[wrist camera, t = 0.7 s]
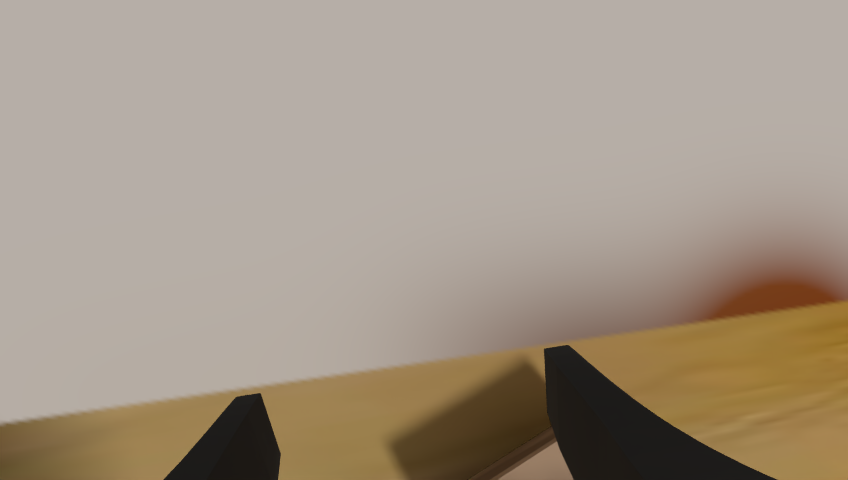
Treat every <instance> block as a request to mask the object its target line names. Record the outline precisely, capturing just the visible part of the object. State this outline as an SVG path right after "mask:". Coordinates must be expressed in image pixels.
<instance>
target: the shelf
mask: <svg viewBox="0 0 848 480" xmlns="http://www.w3.org/2000/svg"><path fill="white" fill-rule="evenodd" d="M468 480H573V477H572V475H571V473H570V471H569V469H568V467H567V464H566V462H565V460H564V458H563V456H562V453H561V451H560V449H559V446H558V443H557V440H556V437H555V434H554V431H553V428H552V426H551V427H550V428H548V429H546V430H545V431H543V432H542V433H540V434H539V435H537V436H535V437H534V438H532V439H531V440H529V441H528V442H526V443H524V444H523V445H521V446H520V447H518V448H517V449H515V450H513V451H512V452H510V453H509V454H507V455H506V456H504V457H502V458H501V459H499V460H498V461H496V462H495V463H493V464H492V465H490V466H488V467H487V468H485V469H484V470H482V471H481V472H479V473H477V474H476V475H474V476H473V477H471V478H470V479H468Z"/></svg>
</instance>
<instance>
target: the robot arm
mask: <svg viewBox="0 0 848 480" xmlns="http://www.w3.org/2000/svg"><path fill="white" fill-rule="evenodd" d="M544 357H545V378H546V398H547V413H548V416H549V419H550V422H551V425H552V428H553V431H554V434H555V437H556V440H557V443H558V446H559V449H560V451H561V453H562V456H563V458H564V460H565V462H566V464H567V467H568V469H569V471H570V473H571V475H572V477H573V480H777V479H774V478H772V477H770V476H767V475H765V474H763V473H761V472H759V471H756V470H754V469H752V468H750V467H748V466H746V465H743V464H741V463H739V462H737V461H736V460H734V459H732V458H730V457H728V456H726V455H724V454H722V453H720V452H718V451H716V450H714V449H712V448H710V447H708V446H706V445H705V444H703V443H701V442H699V441H697V440H696V439H694V438H692V437H691V436H689V435H687V434H686V433H684V432H682V431H681V430H679V429H677V428H675V427H674V426H672V425H671V424H669V423H668V422H666V421H664V420H663V419H661V418H660V417H658V416H657V415H656V414H654V413H653V412H651V411H650V410H648V409H647V408H645V407H644V406H643V405H641V404H640V403H639V402H637V401H636V400H635V399H633V398H632V397H631V396H629V395H628V394H627V393H625V392H624V391H623V390H622V389H620V388H619V387H618V386H616V385H615V384H614V383H613V382H611V381H610V380H609V379H608V378H606V377H605V376H604V375H603V374H602V373H600V372H599V371H598V370H597V369H596V368H595V367H593V366H592V365H591V364H590V363H589V362H588V361H586V360H585V359H584V358H583V357H582V356H581V355H579V354H578V353H577V352H576V351H575V350H574V349H573V348H571V347H570V346H569V345H565V346H558V347H552V348H546V349H544ZM280 456H281V453H280V450H279V447H278V444H277V441H276V438H275V435H274V432H273V429H272V426H271V423H270V420H269V417H268V414H267V411H266V408H265V405H264V402H263V399H262V396H261V393H258V394H252V395H245V396H239V397H236V398H235V399H234V400H233V401H232V402H231V403H230V405H229V406H228V407H227V408H226V409H225V410H224V412H223V413H222V414H221V415H220V416H219V418H218V419H217V420H216V421H215V422H214V423H213V425H212V426H211V427H210V428H209V429H208V431H207V432H206V433H205V434H204V435H203V436H202V438H201V439H200V440H199V441H198V442H197V443H196V444H195V446H194V447H193V448H192V449H191V450H190V451H189V453H188V454H187V455H186V456H185V457H184V458H183V459H182V461H181V462H180V463H179V464H178V465H177V466H176V467H175V468H174V469H173V470H172V471H171V472H170V473H169V474H168V475H167V477H166V478H165V479H164V480H278V474H279V465H280Z"/></svg>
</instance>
